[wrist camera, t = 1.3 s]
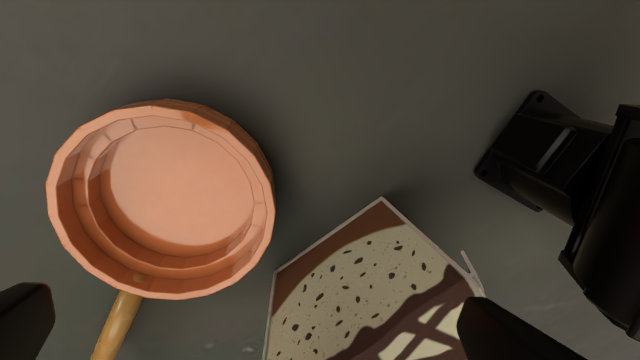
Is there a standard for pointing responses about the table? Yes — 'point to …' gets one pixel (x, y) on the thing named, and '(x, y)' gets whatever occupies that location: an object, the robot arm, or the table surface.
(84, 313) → the table surface
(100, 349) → the pan handle
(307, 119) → the table surface
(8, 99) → the table surface
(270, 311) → the food container
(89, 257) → the pan
